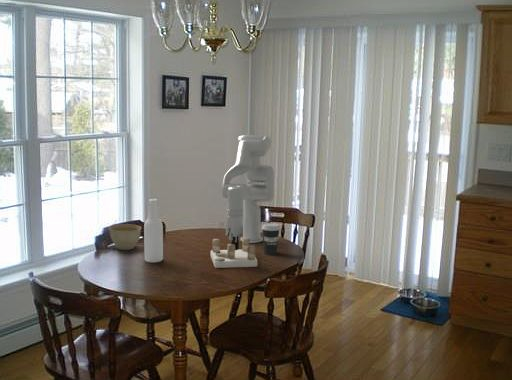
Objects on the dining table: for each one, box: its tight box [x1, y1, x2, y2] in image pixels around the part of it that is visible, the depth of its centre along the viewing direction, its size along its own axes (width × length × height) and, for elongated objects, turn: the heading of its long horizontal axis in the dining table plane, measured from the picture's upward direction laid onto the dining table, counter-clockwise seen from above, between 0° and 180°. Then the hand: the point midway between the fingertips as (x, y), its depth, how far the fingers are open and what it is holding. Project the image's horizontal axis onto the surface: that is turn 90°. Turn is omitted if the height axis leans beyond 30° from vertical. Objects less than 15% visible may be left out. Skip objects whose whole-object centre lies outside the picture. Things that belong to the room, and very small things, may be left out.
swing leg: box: [216, 243, 235, 258], centre depth 282 cm, size 10×4×6 cm, turn 60°
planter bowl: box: [109, 223, 142, 251], centre depth 306 cm, size 16×16×11 cm
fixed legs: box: [212, 238, 256, 260], centre depth 285 cm, size 19×19×6 cm
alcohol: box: [143, 198, 164, 264], centre depth 282 cm, size 9×9×30 cm
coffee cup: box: [261, 222, 281, 256], centre depth 300 cm, size 10×10×15 cm
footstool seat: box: [210, 248, 258, 269], centre depth 286 cm, size 20×20×3 cm
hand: (234, 249), depth 284 cm, fingers closed
